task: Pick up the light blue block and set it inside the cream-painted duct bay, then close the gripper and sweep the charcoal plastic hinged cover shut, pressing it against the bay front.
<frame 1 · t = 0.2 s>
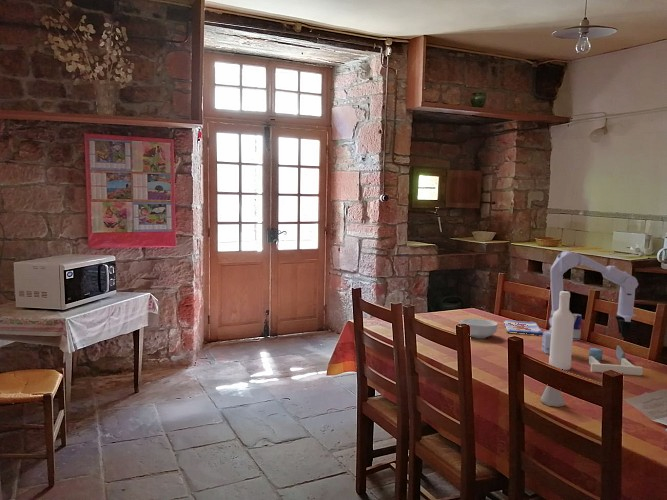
hand: (623, 335, 223), 10 cm above the table, fingers open, 7 cm apart
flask: (552, 403, 170), on the table
bottle: (559, 367, 208), on the table
duct cover: (620, 354, 219), point 3 cm above the table, hinge at -100.0°
blue white book: (522, 330, 270), on the table
duct bay: (610, 368, 209), on the table
light blue block: (595, 359, 221), on the table
cereal bowl: (478, 336, 253), on the table
energy drink: (573, 339, 253), on the table
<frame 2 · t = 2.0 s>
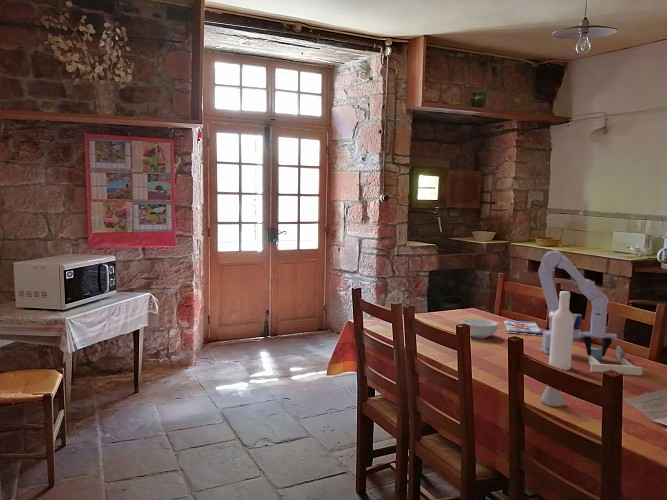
hand: (595, 355, 221), 2 cm above the table, fingers closed on light blue block, 5 cm apart
light blue block: (595, 359, 221), on the table, touching gripper
everything else where it was.
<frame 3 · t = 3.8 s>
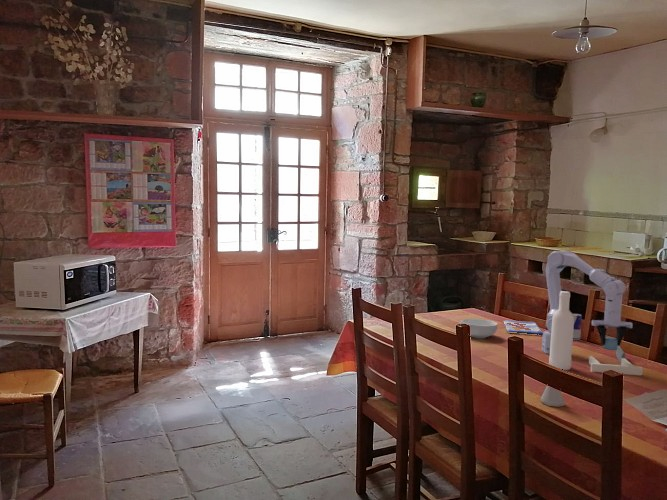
hand: (610, 344, 210), 9 cm above the table, fingers closed on light blue block, 5 cm apart
light blue block: (609, 348, 210), point 7 cm above the table, touching gripper
everything else where it was.
when the fingers open (3 cm above the table, at t = 5.7 s): light blue block drops 1 cm, on the table.
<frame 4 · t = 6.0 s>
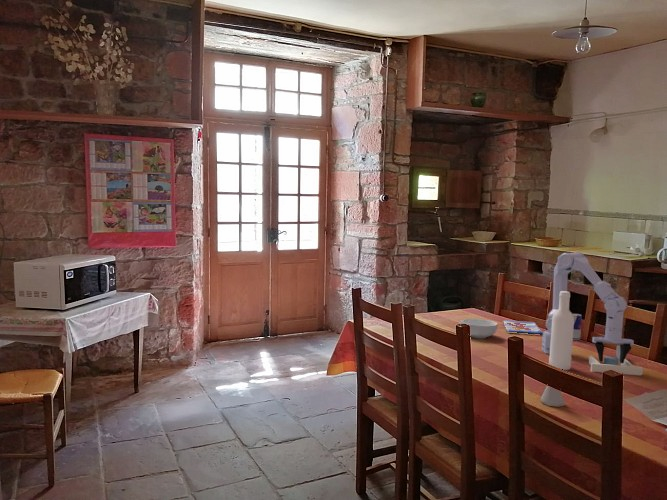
hand: (611, 361, 209), 3 cm above the table, fingers open, 7 cm apart
light blue block: (610, 368, 209), on the table
everything else where it was.
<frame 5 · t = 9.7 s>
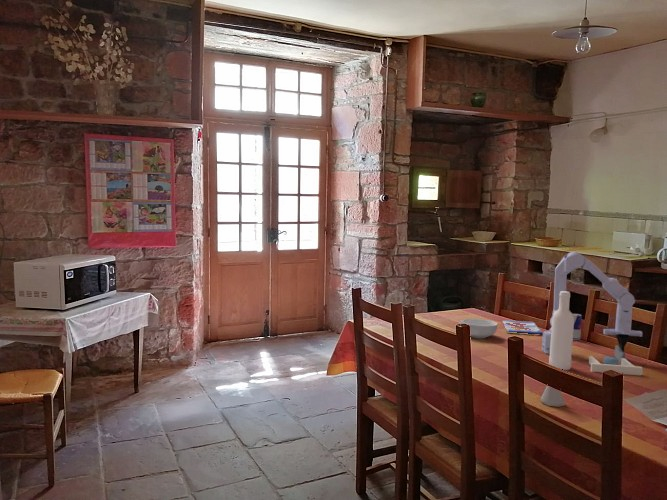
hand: (621, 352, 222), 3 cm above the table, fingers closed, pressing on duct cover
duct cover: (619, 354, 219), point 3 cm above the table, hinge at -97.6°, touching gripper
everything else where it was.
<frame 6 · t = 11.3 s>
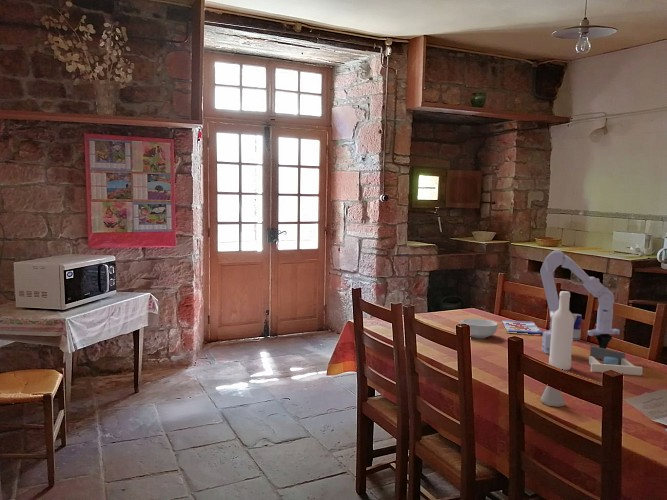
hand: (602, 351, 221), 3 cm above the table, fingers closed, pressing on duct cover
duct cover: (607, 355, 218), point 3 cm above the table, hinge at -41.0°, touching gripper
everything else where it was.
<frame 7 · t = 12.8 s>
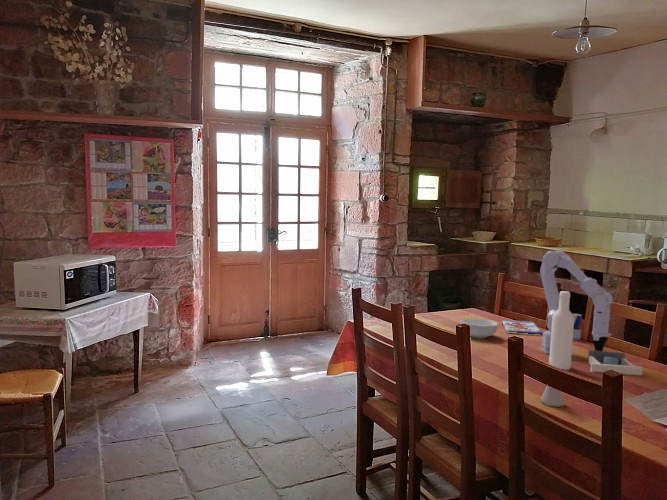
hand: (598, 354, 217), 3 cm above the table, fingers closed, pressing on duct cover
duct cover: (606, 357, 215), point 3 cm above the table, hinge at -5.6°, touching gripper
everything else where it was.
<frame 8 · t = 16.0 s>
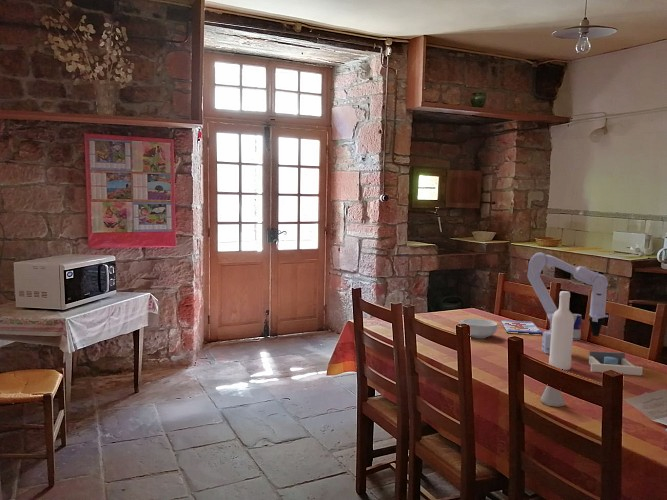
hand: (595, 335, 222), 9 cm above the table, fingers closed
duct cover: (607, 357, 214), point 3 cm above the table, hinge at 2.1°
everything else where it was.
at the end: light blue block inside the target area on the duct bay (1.1 cm from its centre), point 0.0 cm above the duct bay's base; duct cover at +2° (first picture: -100°); light blue block tilted 0° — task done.
